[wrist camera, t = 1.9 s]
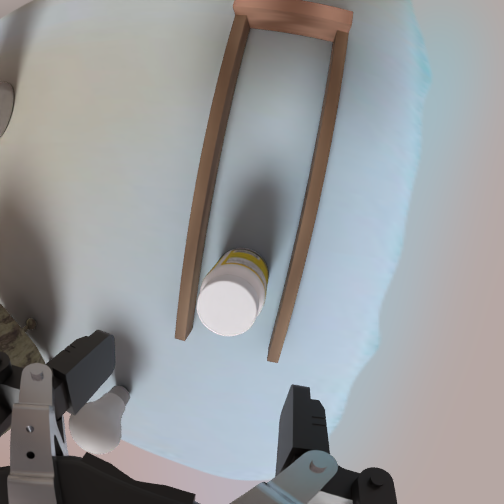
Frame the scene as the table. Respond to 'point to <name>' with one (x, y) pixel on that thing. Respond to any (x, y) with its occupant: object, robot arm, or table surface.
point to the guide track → (246, 16)
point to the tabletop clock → (17, 342)
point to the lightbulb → (100, 422)
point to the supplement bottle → (233, 292)
